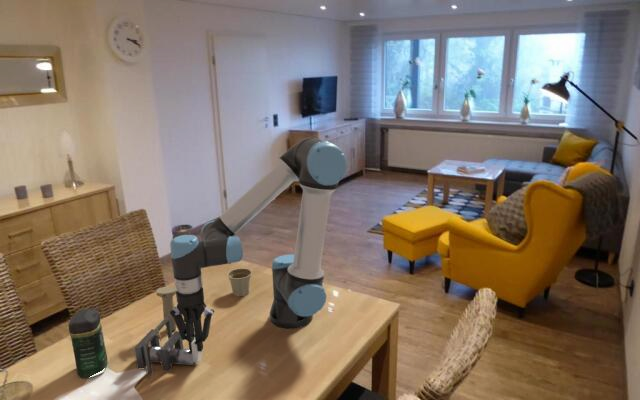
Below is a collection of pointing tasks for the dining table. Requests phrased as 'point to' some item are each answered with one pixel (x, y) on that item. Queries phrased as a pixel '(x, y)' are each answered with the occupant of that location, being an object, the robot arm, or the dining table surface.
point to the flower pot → (240, 281)
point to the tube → (173, 355)
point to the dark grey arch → (164, 351)
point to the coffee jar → (88, 342)
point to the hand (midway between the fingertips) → (197, 359)
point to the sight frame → (156, 332)
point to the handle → (167, 303)
